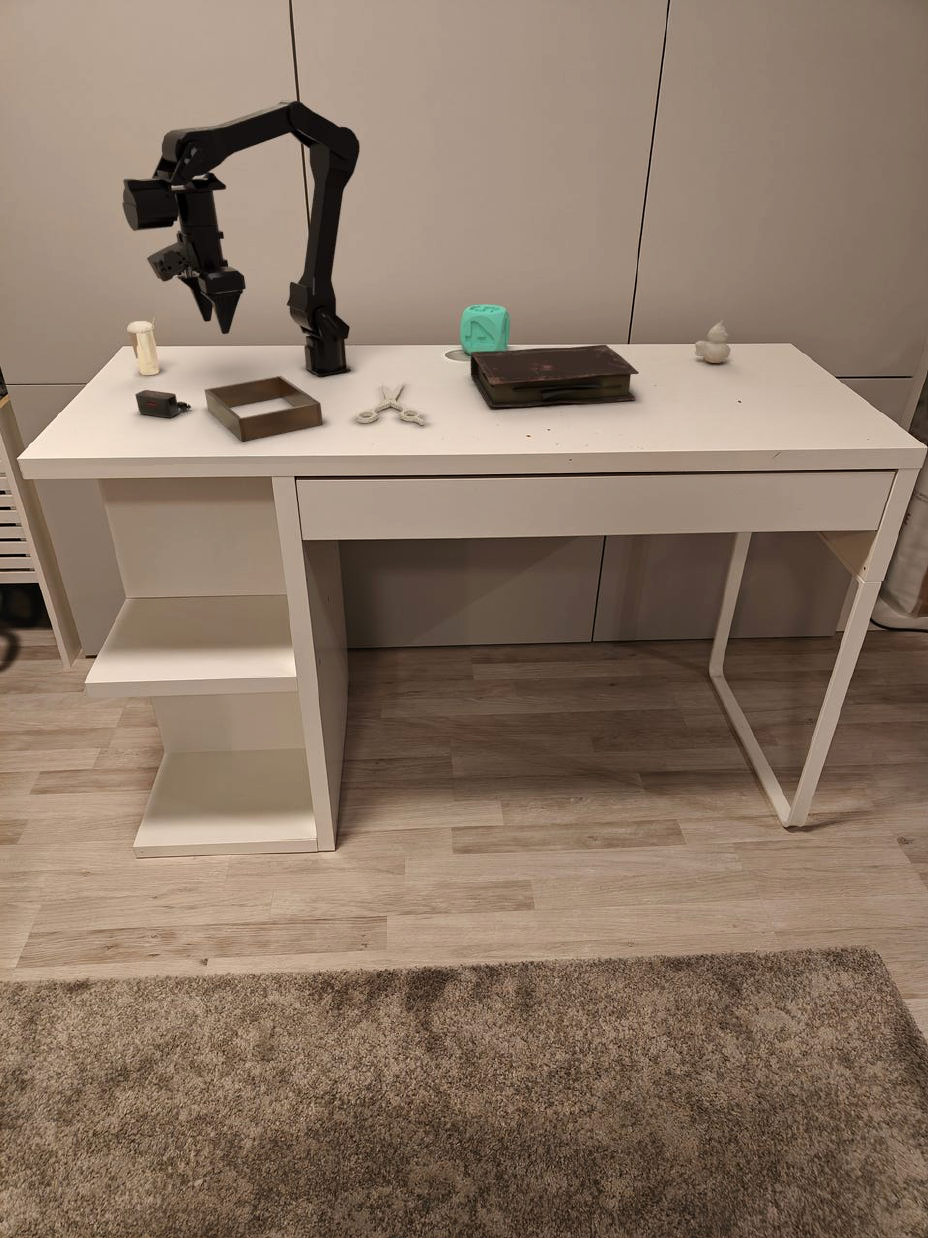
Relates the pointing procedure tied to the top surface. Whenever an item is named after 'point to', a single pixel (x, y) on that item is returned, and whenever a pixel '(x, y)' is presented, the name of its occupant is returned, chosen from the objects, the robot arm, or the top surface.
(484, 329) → the decorative dice
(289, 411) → the desk tray
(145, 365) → the milkshake
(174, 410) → the black dial case
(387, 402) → the scissors
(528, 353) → the diary
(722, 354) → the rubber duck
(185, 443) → the top surface
